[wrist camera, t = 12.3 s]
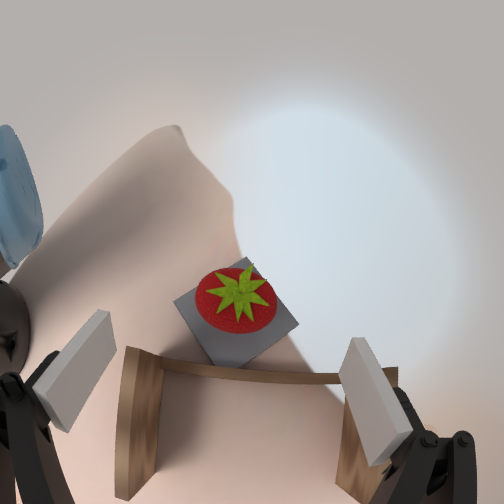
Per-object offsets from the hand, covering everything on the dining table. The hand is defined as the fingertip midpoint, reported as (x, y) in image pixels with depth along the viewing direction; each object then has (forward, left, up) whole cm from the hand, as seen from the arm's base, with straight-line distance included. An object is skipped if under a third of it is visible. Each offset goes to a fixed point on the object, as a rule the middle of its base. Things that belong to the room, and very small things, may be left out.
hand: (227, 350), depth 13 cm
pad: (-4, +4, -15) cm, 16 cm away
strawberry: (-4, +4, -15) cm, 16 cm away
